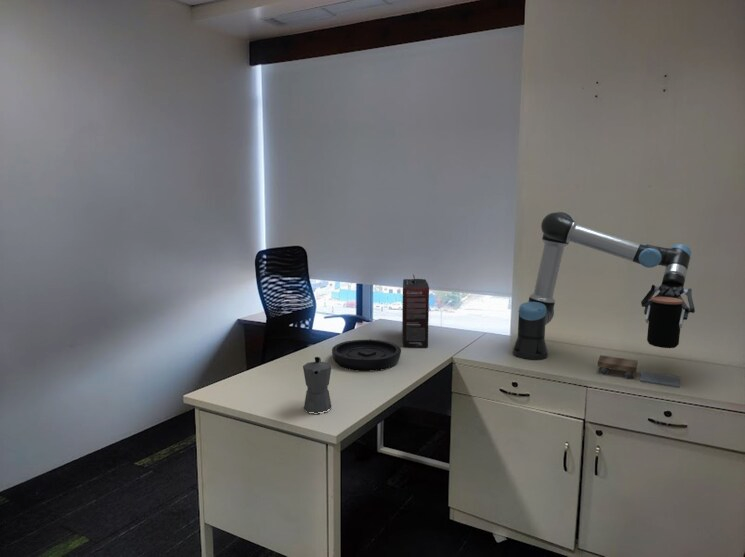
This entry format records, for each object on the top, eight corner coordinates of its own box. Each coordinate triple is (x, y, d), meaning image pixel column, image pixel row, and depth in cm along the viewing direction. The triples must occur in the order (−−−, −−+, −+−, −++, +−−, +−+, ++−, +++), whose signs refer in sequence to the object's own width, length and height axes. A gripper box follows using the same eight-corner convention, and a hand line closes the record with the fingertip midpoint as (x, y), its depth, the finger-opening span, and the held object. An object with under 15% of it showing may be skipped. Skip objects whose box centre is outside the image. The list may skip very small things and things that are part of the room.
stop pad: (640, 381, 191) (640, 379, 191) (640, 372, 201) (641, 370, 201) (679, 387, 185) (679, 386, 184) (678, 377, 195) (678, 376, 195)
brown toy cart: (596, 373, 199) (597, 361, 199) (599, 366, 208) (600, 355, 207) (635, 379, 193) (636, 367, 192) (636, 372, 201) (637, 360, 200)
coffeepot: (331, 417, 158) (330, 363, 155) (301, 417, 158) (300, 363, 155) (332, 398, 173) (332, 348, 170) (305, 398, 173) (304, 349, 170)
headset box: (401, 334, 258) (402, 271, 253) (425, 334, 257) (426, 271, 252) (402, 347, 234) (403, 279, 229) (428, 348, 233) (430, 279, 228)
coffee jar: (684, 348, 186) (689, 302, 183) (656, 348, 185) (660, 302, 183) (667, 340, 196) (672, 296, 193) (641, 340, 196) (645, 296, 193)
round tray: (365, 347, 236) (317, 361, 214) (365, 335, 235) (317, 348, 213) (414, 361, 215) (367, 378, 194) (415, 347, 214) (367, 363, 193)
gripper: (708, 286, 192) (699, 333, 182) (642, 280, 206) (630, 324, 197) (708, 275, 187) (699, 322, 177) (641, 269, 202) (628, 313, 192)
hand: (663, 323), depth 187 cm, fingers closed on coffee jar, 11 cm apart
